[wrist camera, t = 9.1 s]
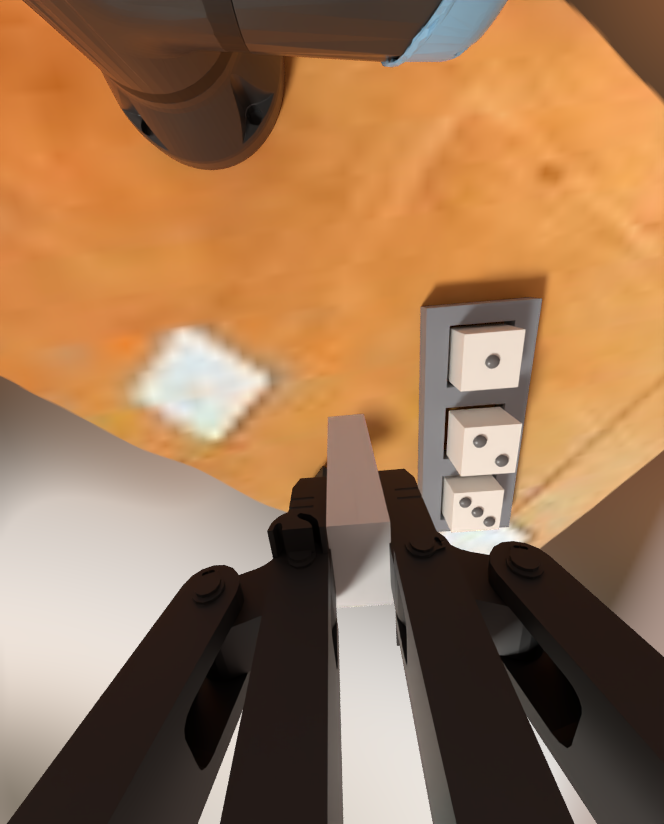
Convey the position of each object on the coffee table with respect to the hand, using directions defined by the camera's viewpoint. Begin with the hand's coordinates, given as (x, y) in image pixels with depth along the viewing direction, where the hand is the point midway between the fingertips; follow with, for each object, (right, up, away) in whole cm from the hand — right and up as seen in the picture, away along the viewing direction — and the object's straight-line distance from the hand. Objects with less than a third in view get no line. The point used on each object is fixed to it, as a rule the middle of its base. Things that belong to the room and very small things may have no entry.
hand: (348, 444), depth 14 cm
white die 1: (+16, +8, +24) cm, 30 cm away
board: (+17, 0, +29) cm, 33 cm away
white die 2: (+17, -9, +32) cm, 37 cm away
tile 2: (+17, -1, +26) cm, 31 cm away
